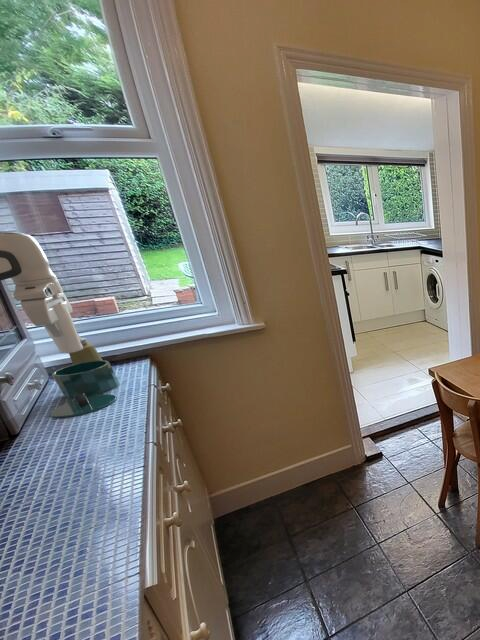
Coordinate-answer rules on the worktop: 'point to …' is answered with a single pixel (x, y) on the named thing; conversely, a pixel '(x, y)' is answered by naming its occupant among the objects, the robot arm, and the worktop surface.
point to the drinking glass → (66, 331)
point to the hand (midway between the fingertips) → (63, 333)
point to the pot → (86, 378)
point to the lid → (83, 405)
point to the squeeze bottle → (85, 353)
